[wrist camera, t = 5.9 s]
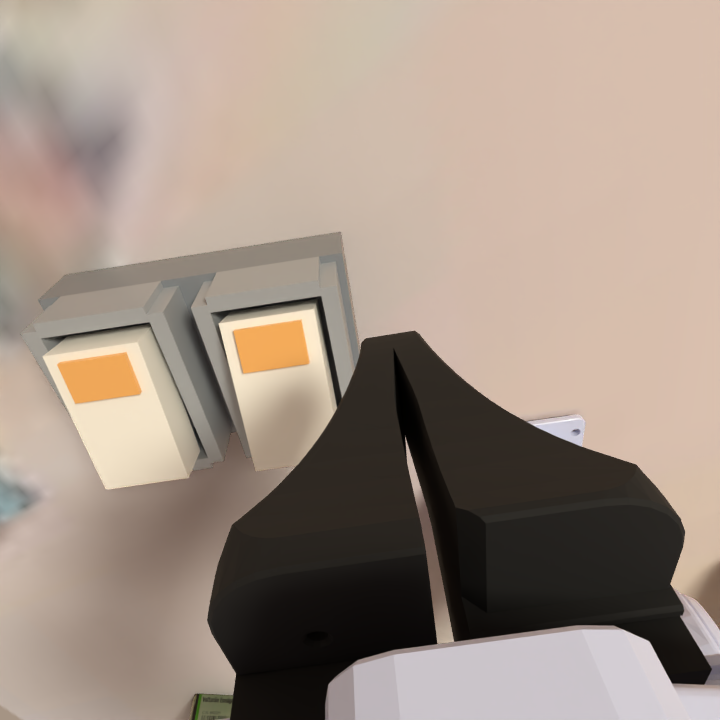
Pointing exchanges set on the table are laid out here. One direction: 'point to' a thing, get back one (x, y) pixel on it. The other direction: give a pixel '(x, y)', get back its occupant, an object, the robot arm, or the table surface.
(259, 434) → the breaker
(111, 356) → the breaker
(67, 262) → the table surface
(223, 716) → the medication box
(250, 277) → the breaker panel
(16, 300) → the table surface
